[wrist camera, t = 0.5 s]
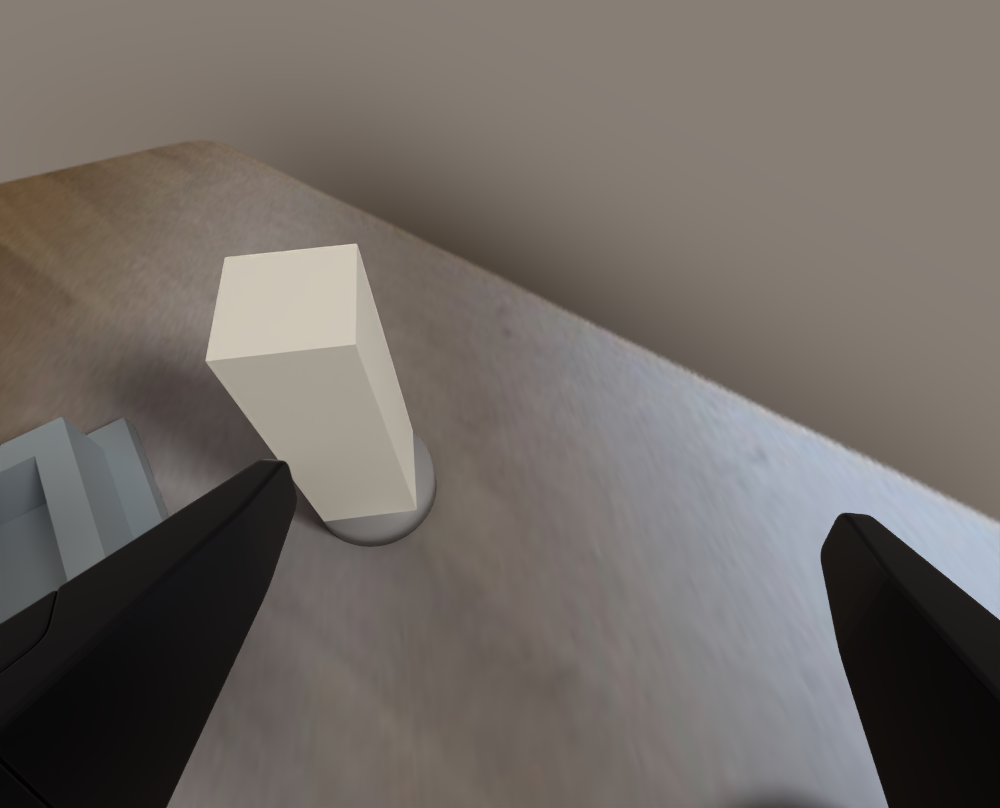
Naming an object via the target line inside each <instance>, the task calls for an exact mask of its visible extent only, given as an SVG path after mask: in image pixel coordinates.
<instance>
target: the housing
mask: <svg viewBox="0 0 1000 808" xmlns="http://www.w3.org/2000/svg"><path fill="white" fill-rule="evenodd" d="M167 518H169V516H168V513H167V511H166V508H165V506H164V503H163V500H162V498H161V495H160V492H159V490H158V487H157V485H156V482H155V479H154V477H153V474H152V472H151V469H150V466H149V464H148V461H147V458H146V456H145V453H144V451H143V448H142V445H141V443H140V440H139V438H138V435H137V432H136V430H135V427H134V426H133V425H132V424H130V423H129V422H128V421H127V420H126V419H125V418H124V417H123V418H120V419H118V420H116V421H114V422H112V423H110V424H108V425H106V426H104V427H102V428H100V429H98V430H96V431H93V432H91V433H89V434H87V435H85V434H84V433H83V432H81V431H80V430H79V429H78V428H76V427H75V426H74V425H73V424H71V423H70V422H69V421H68V420H66V419H65V418H64V417H63V416H62V417H60V418H57V419H55V420H53V421H51V422H49V423H47V424H45V425H42V426H40V427H38V428H36V429H34V430H32V431H30V432H27V433H25V434H23V435H21V436H19V437H17V438H15V439H12V440H10V441H8V442H6V443H4V444H2V445H0V623H2V622H4V621H5V620H7V619H9V618H10V617H12V616H13V615H15V614H17V613H18V612H20V611H22V610H23V609H25V608H26V607H28V606H30V605H31V604H33V603H34V602H36V601H38V600H39V599H41V598H42V597H44V596H45V595H47V594H49V593H50V592H52V591H58V588H59V587H60V586H61V585H63V584H65V583H66V582H68V581H69V580H71V579H73V578H74V577H76V576H77V575H79V574H80V573H82V572H84V571H85V570H87V569H88V568H90V567H91V566H93V565H95V564H96V563H98V562H99V561H101V560H103V559H104V558H106V557H107V556H109V555H110V554H112V553H114V552H115V551H117V550H118V549H120V548H121V547H123V546H125V545H126V544H128V543H129V542H131V541H133V540H134V539H136V538H137V537H139V536H140V535H142V534H144V533H145V532H147V531H148V530H150V529H151V528H153V527H155V526H156V525H158V524H159V523H161V522H162V521H164V520H166V519H167Z"/></svg>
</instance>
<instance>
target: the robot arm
mask: <svg viewBox="0 0 1000 808" xmlns="http://www.w3.org/2000/svg"><path fill="white" fill-rule="evenodd" d="M296 504H297V495H296V491H295V487H294V483H293V479H292V475H291V471H290V468H289V465H288V464H287V462H286V461H283V460H275V459H261V460H259V461H257V462H256V463H254V464H252V465H251V466H249V467H248V468H246V469H244V470H243V471H241V472H240V473H238V474H237V475H235V476H233V477H232V478H230V479H229V480H227V481H226V482H224V483H222V484H221V485H219V486H218V487H216V488H215V489H213V490H211V491H210V492H208V493H207V494H205V495H203V496H202V497H200V498H199V499H197V500H196V501H194V502H192V503H191V504H189V505H188V506H186V507H185V508H183V509H181V510H180V511H178V512H177V513H175V514H174V515H172V516H170V517H169V518H167V519H166V520H164V521H162V522H161V523H159V524H158V525H156V526H155V527H153V528H151V529H150V530H148V531H147V532H145V533H144V534H142V535H140V536H139V537H137V538H136V539H134V540H133V541H131V542H129V543H128V544H126V545H125V546H123V547H121V548H120V549H118V550H117V551H115V552H114V553H112V554H110V555H109V556H107V557H106V558H104V559H103V560H101V561H99V562H98V563H96V564H95V565H93V566H91V567H90V568H88V569H87V570H85V571H84V572H82V573H80V574H79V575H77V576H76V577H74V578H73V579H71V580H69V581H68V582H66V583H65V584H63V585H61V586H60V587H59V588H58V591H52V592H50V593H49V594H47V595H45V596H44V597H42V598H41V599H39V600H38V601H36V602H34V603H33V604H31V605H30V606H28V607H26V608H25V609H23V610H22V611H20V612H18V613H17V614H15V615H13V616H12V617H10V618H9V619H7V620H5V621H4V622H2V623H0V808H166V807H167V805H168V803H169V801H170V799H171V797H172V794H173V792H174V790H175V788H176V786H177V784H178V782H179V779H180V777H181V775H182V773H183V771H184V769H185V767H186V764H187V762H188V760H189V758H190V756H191V754H192V752H193V749H194V747H195V745H196V743H197V741H198V739H199V737H200V734H201V732H202V730H203V728H204V726H205V724H206V722H207V719H208V717H209V715H210V713H211V711H212V709H213V707H214V704H215V702H216V700H217V698H218V696H219V694H220V692H221V689H222V687H223V685H224V683H225V681H226V679H227V677H228V674H229V672H230V670H231V668H232V666H233V664H234V662H235V659H236V657H237V655H238V653H239V651H240V649H241V647H242V644H243V642H244V640H245V638H246V636H247V634H248V632H249V629H250V627H251V625H252V623H253V621H254V619H255V617H256V615H257V612H258V610H259V608H260V606H261V604H262V602H263V599H264V597H265V595H266V592H267V590H268V588H269V585H270V582H271V580H272V577H273V574H274V571H275V568H276V565H277V562H278V559H279V556H280V553H281V550H282V548H283V545H284V542H285V539H286V536H287V533H288V530H289V527H290V524H291V521H292V518H293V515H294V512H295V509H296ZM821 565H822V570H823V575H824V580H825V585H826V590H827V595H828V600H829V605H830V610H831V615H832V620H833V625H834V630H835V635H836V640H837V644H838V648H839V653H840V656H841V660H842V663H843V666H844V670H845V673H846V676H847V679H848V682H849V685H850V688H851V691H852V695H853V698H854V701H855V704H856V707H857V710H858V713H859V716H860V719H861V723H862V726H863V729H864V732H865V735H866V738H867V741H868V744H869V748H870V751H871V754H872V757H873V760H874V763H875V766H876V769H877V773H878V776H879V779H880V782H881V785H882V788H883V791H884V794H885V797H886V801H887V804H888V807H889V808H1000V620H999V619H998V618H997V617H995V616H994V615H993V614H992V613H990V612H989V611H988V610H987V609H985V608H984V607H983V606H982V605H981V604H979V603H978V602H977V601H976V600H974V599H973V598H972V597H971V596H969V595H968V594H967V593H966V592H965V591H963V590H962V589H961V588H960V587H958V586H957V585H956V584H955V583H953V582H952V581H951V580H950V579H949V578H947V577H946V576H945V575H944V574H942V573H941V572H940V571H939V570H937V569H936V568H935V567H934V566H932V565H931V564H930V563H929V562H928V561H926V560H925V559H924V558H923V557H921V556H920V555H919V554H918V553H916V552H915V551H914V550H913V549H912V548H910V547H909V546H908V545H907V544H905V543H904V542H903V541H902V540H900V539H899V538H898V537H897V536H896V535H894V534H893V533H892V532H891V531H889V530H888V529H887V528H886V527H884V526H883V525H882V524H881V523H879V522H878V521H877V520H876V519H874V518H873V517H871V516H869V515H865V514H855V513H842V514H840V515H839V516H838V517H837V518H836V520H835V522H834V524H833V526H832V528H831V530H830V532H829V534H828V536H827V538H826V540H825V542H824V544H823V546H822V549H821Z"/></svg>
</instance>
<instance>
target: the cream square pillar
mask: <svg viewBox="0 0 1000 808" xmlns="http://www.w3.org/2000/svg"><path fill="white" fill-rule="evenodd" d="M206 363H207V364H208V365H209V367H210V368H211V370H212V371H213V372H214V374H215V375H216V376H217V378H218V379H219V380H220V382H221V383H222V384H223V386H224V387H225V388H226V390H227V391H228V393H229V394H230V395H231V397H232V398H233V399H234V401H235V402H236V403H237V405H238V406H239V407H240V409H241V410H242V411H243V413H244V414H245V416H246V417H247V418H248V420H249V421H250V422H251V424H252V425H253V426H254V428H255V429H256V430H257V432H258V433H259V434H260V436H261V437H262V438H263V440H264V441H265V443H266V444H267V445H268V447H269V448H270V449H271V451H272V452H273V453H274V455H275V456H276V457H277V459H278V460H283V461H286V462H287V464H288V465H289V468H290V471H291V475H292V479H293V480H294V482H295V483H296V484H297V486H298V487H299V488H300V490H301V491H302V493H303V494H304V495H305V497H306V498H307V499H308V501H309V502H310V503H311V505H312V506H313V508H314V509H315V511H316V512H317V514H318V515H319V516H320V518H321V519H322V520H323V522H324V523H325V524H326V526H327V527H328V528H329V530H330V531H331V532H332V533H333V534H334V535H336V536H337V537H339V538H340V539H342V540H344V541H346V542H348V543H351V544H354V545H359V546H367V547H372V546H381V545H386V544H390V543H393V542H395V541H398V540H400V539H402V538H404V537H405V536H407V535H408V534H410V533H411V532H412V531H414V530H415V529H416V528H417V527H418V526H419V525H420V524H421V523H422V522H423V520H424V519H425V518H426V517H427V515H428V513H429V512H430V510H431V507H432V505H433V503H434V499H435V495H436V476H435V472H434V468H433V464H432V461H431V457H430V454H429V451H428V449H427V447H426V446H425V444H424V443H423V441H422V440H421V439H420V438H419V437H418V436H417V435H416V434H415V433H414V432H413V430H412V427H411V424H410V420H409V417H408V413H407V410H406V407H405V403H404V400H403V397H402V393H401V390H400V387H399V383H398V380H397V376H396V373H395V370H394V366H393V363H392V360H391V356H390V353H389V350H388V346H387V343H386V340H385V336H384V333H383V329H382V326H381V323H380V319H379V316H378V313H377V309H376V306H375V303H374V299H373V296H372V292H371V289H370V286H369V282H368V279H367V276H366V272H365V269H364V266H363V262H362V259H361V256H360V252H359V249H358V245H357V244H348V245H338V246H329V247H319V248H310V249H300V250H291V251H281V252H271V253H262V254H252V255H243V256H233V257H225V260H224V266H223V271H222V276H221V281H220V287H219V292H218V297H217V303H216V308H215V313H214V318H213V324H212V329H211V334H210V340H209V345H208V350H207V355H206Z"/></svg>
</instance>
